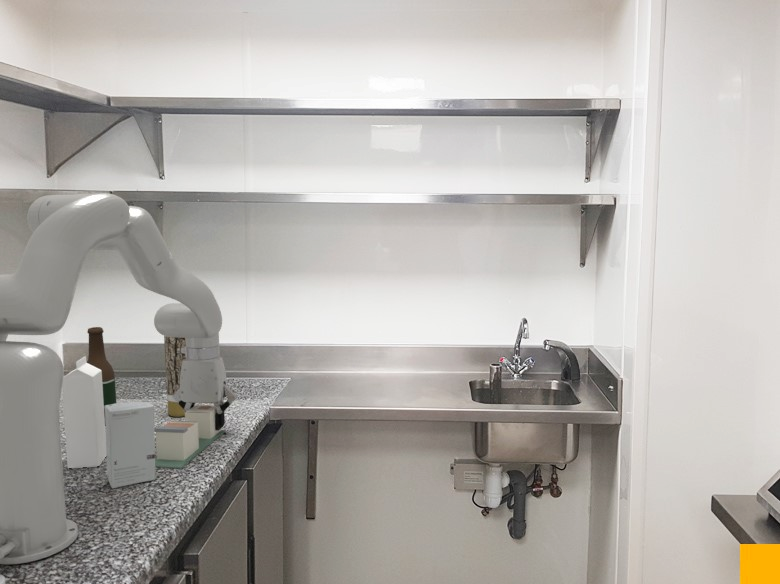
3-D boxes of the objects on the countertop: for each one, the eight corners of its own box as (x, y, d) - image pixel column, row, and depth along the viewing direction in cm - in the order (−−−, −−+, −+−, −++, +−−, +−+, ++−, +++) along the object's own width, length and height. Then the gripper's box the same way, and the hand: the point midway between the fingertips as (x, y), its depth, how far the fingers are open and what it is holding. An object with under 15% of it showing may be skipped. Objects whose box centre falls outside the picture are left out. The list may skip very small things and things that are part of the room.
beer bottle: (113, 426, 153) (107, 329, 150) (79, 428, 151) (73, 331, 149) (121, 416, 160) (116, 324, 158) (89, 418, 159) (83, 325, 157)
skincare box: (111, 489, 116) (106, 412, 114) (106, 478, 121) (102, 404, 119) (158, 479, 120) (154, 404, 119) (151, 469, 126) (148, 397, 124)
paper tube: (162, 416, 161) (157, 320, 158) (180, 408, 167) (175, 316, 164) (183, 418, 158) (179, 321, 155) (200, 411, 164) (196, 317, 162)
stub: (210, 438, 142) (209, 412, 142) (186, 437, 143) (184, 412, 142) (221, 430, 148) (220, 405, 148) (197, 429, 149) (196, 404, 148)
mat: (180, 468, 126) (180, 467, 126) (143, 466, 127) (143, 465, 127) (225, 431, 148) (225, 430, 148) (194, 430, 149) (193, 428, 149)
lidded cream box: (185, 461, 129) (184, 429, 128) (154, 459, 130) (153, 428, 129) (200, 448, 136) (199, 418, 135) (171, 447, 137) (169, 417, 136)
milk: (107, 456, 133) (101, 355, 131) (98, 467, 127) (92, 361, 125) (76, 458, 132) (70, 356, 130) (66, 469, 126) (60, 362, 124)
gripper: (159, 355, 142) (163, 432, 144) (232, 357, 140) (234, 434, 142) (175, 349, 150) (178, 421, 152) (244, 350, 147) (246, 424, 149)
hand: (205, 427), depth 147 cm, fingers closed on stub, 6 cm apart
